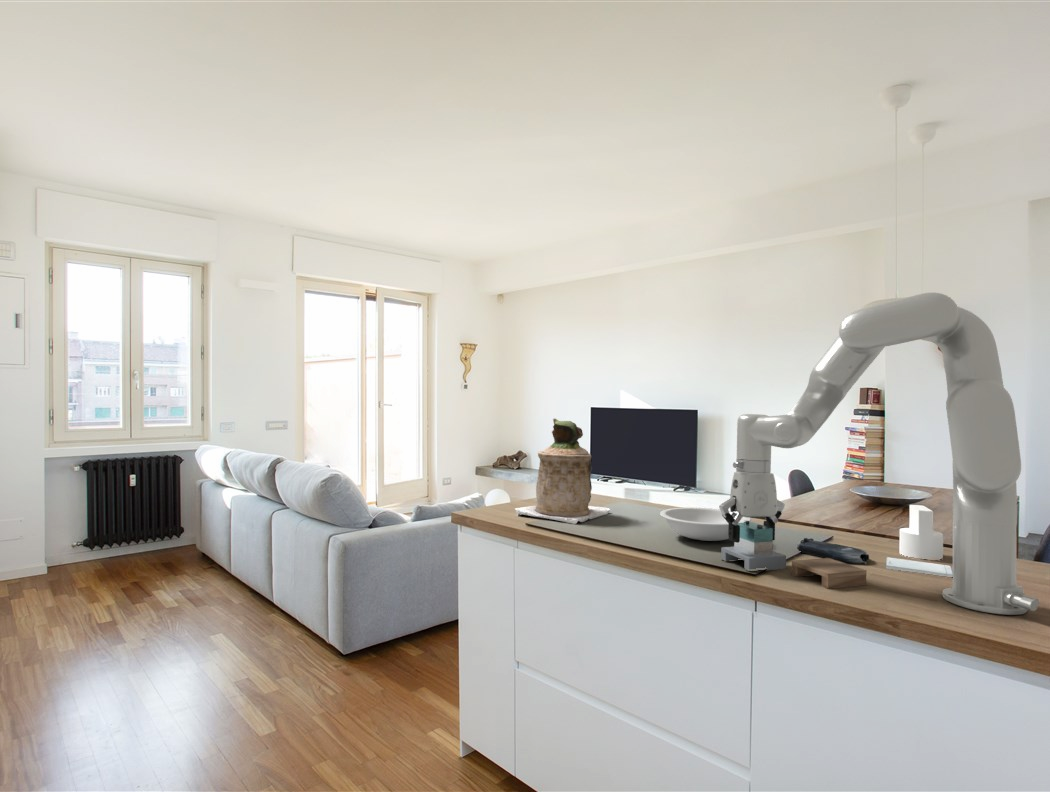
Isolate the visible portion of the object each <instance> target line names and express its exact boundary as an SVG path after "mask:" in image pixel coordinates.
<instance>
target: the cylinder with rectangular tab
mask: <svg viewBox="0 0 1050 792" xmlns="http://www.w3.org/2000/svg"><path fill="white" fill-rule="evenodd" d="M908 521H909V527H903V528H899V546H898V547H899V550H898V551H899V555H901V554H902V555H901V556H903V555H904V556H903V557H906V556H908V557H907V558H909V557H914V558H922V559H941V558H943V559H944V534H943V533H942V532H940V531H935V530H934V511H933V510H932V509H930V508H929V507H926V506H925V505H923V504H922V505H920V504H909V520H908ZM914 558H913V559H914Z"/></svg>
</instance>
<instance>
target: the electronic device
mask: <svg viewBox="0 0 1050 792" xmlns="http://www.w3.org/2000/svg"><path fill="white" fill-rule="evenodd" d="M796 546H797V547H796V549H797V550H798V552H799V551H801V552H802V553H801V554H806V555H811V556H815V557H816V556H817V557H819V558H820V557H821V558H830V559H833V560H836V561H839V562H842V563H845V564H850V565H851V564H853V565H854V564H855V565H858V564H861V565H862V564H865V565H867V563H868V562H869V561H870V555H869V554H868V553H867V551H865V550H863V549H860V548H856V547H852V546H847V545H841V544H837V543H831V542H830V543H829V542H825V541H818V540H814V539H813V538H808V537H806V538H805V537H804V538H803V539H801V540H800V541H798V542H797V543H796Z"/></svg>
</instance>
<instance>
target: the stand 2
mask: <svg viewBox="0 0 1050 792" xmlns="http://www.w3.org/2000/svg"><path fill="white" fill-rule="evenodd" d="M791 575H792V576H794V577H808V576H818V575H819V576H821V587H822V588H825V589H837V588H838V589H839V588H848V587H856V586H857V587H859V586H867V569H864V568H860V567H858V566H854V565H851V564H850V563H845V562H840V561H836V560H833V559H830V558H825V557H821V558H820V557H819V558H811V559H810V558H809V559H798V560H791Z"/></svg>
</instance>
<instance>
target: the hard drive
mask: <svg viewBox="0 0 1050 792" xmlns="http://www.w3.org/2000/svg"><path fill="white" fill-rule="evenodd" d="M885 562H886V564H885V568H886V569H887V570H891V569H893V570H892V571H898V570H901V571H900V572H905V571H909V572H908V573H912V572H918V573H917V574H919V573H925V574H924V575H926V574H933V575H939V576H938V577H940V576H947V577H953V568H952V567H951V566H950V565H948V564H947V565H946V564H940V563H931V562H926V561H925V562H924V561H920V560H919V561H918V560H910V559H903V558H895V557H888V556H886V560H885ZM933 575H932V576H933ZM947 577H946V578H947Z"/></svg>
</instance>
